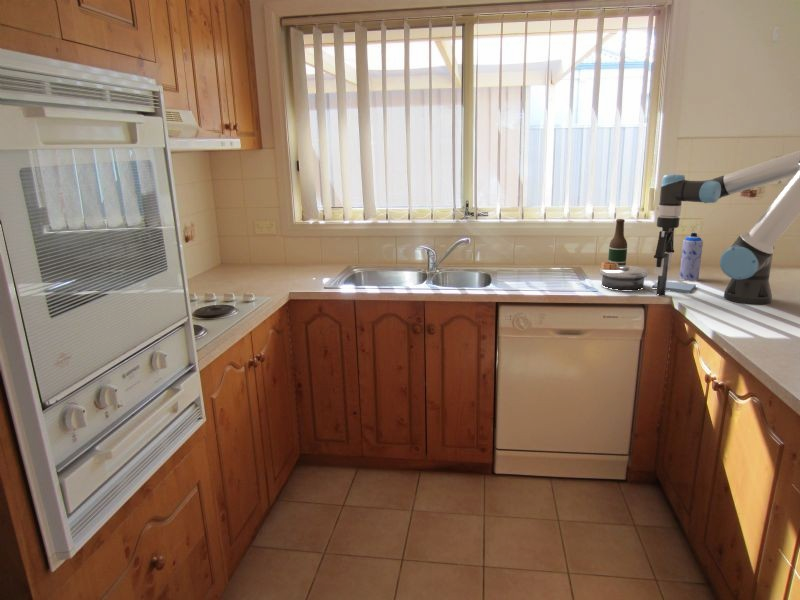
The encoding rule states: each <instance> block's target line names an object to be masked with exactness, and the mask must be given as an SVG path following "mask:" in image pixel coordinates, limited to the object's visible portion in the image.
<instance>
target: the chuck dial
mask: <svg viewBox="0 0 800 600" xmlns="http://www.w3.org/2000/svg"><path fill="white" fill-rule="evenodd" d="M648 273H649V272H648V269H647V268H644V267H640V266H634V265H626V266H625V265H618V263H614V262H608V261H603V262H601V263H600V269H599V274H600V275H601V276H602V275H603V276H606V277H611V278H619V279H640V278H644V279H645V278H647V277H648Z"/></svg>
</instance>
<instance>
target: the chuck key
mask: <svg viewBox="0 0 800 600" xmlns="http://www.w3.org/2000/svg"><path fill="white" fill-rule="evenodd" d="M668 262H669V254H667V253H665V254H664V264H663V273H662V276H658V275H657V282H658V284H657V290H656V295H657V294H659V295H658V296H660V295H664V296H666V291H665V290H666V281H667V279H668V270H669V269H668Z"/></svg>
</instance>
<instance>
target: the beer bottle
mask: <svg viewBox="0 0 800 600" xmlns="http://www.w3.org/2000/svg"><path fill="white" fill-rule="evenodd" d="M625 221H626V220H625V219H624V218H617V219H616V220H615V222H616V225H615V231H614V235H613V237H612V239H611V240H610V242H609V247H608V257H607V258H608V259H607V260H608V261H607V262H614V263H618V265H625V266H627V255H628V242H627V239H626V238H625V234H624V233H625V232H624V231H625Z"/></svg>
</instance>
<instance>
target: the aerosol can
mask: <svg viewBox="0 0 800 600" xmlns="http://www.w3.org/2000/svg"><path fill="white" fill-rule="evenodd" d="M703 241H704V240H703V239H702V237H700V236H699V235H698V233H697V232H691V233H690V235H689V236H687V237H685V239H683V241H682V242H683V243H682V251H681V257H680V258H681V261H680V268H679V269H680V270H679V276H678V278H679V277H680V278H681V279H684V280H698V281H700V278H699V277H700V271H701V270H700V268H701V262H702V261H701V260H702V253H703V247H704V246H703V245H704V242H703ZM684 280H683V281H684Z"/></svg>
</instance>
